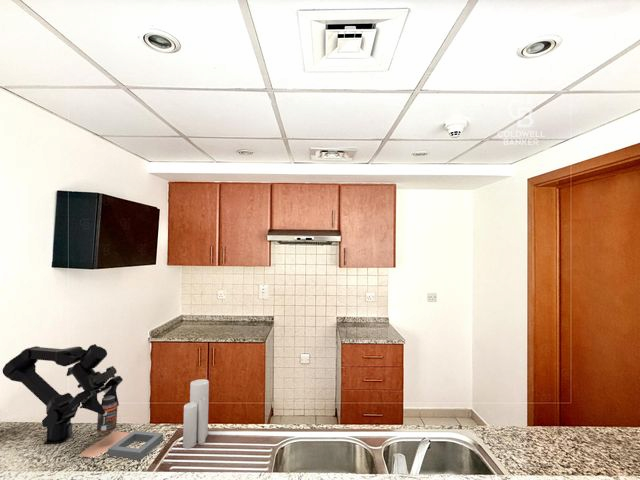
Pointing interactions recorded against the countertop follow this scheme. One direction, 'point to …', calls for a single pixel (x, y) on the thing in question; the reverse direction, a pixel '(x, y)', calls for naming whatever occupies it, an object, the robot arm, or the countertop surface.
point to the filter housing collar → (135, 453)
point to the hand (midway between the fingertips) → (111, 409)
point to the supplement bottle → (107, 415)
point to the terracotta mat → (104, 444)
